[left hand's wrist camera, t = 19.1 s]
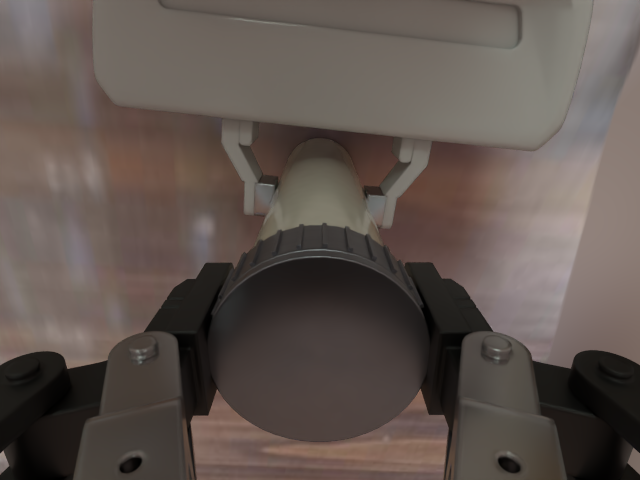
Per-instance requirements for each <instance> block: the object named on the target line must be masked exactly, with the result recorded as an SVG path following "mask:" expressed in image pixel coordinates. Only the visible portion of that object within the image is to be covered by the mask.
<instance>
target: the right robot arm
mask: <svg viewBox="0 0 640 480" xmlns="http://www.w3.org/2000/svg"><path fill="white" fill-rule="evenodd" d="M592 10H593V0H93V17H92V45H93V67H94V74H95V78H96V81H97V82H98V84H99V85H100V87H101V88H102V89H103V91H104V92H105V93H106V95H107V96H108V97H109V98H110V100H111V101H112V102H113V103H114V104H115V105H117V106H120V107H128V108H137V109H146V110H155V111H164V112H173V113H183V114H192V115H201V116H210V117H219V118H222V139H221V144H222V145H223V147H224V149H225V151H226V153H227V155H228V156H229V158H230V160H231V162H232V164H233V166H234V167H235V169H236V171H237V173H238V175H239V177H240V178H241V180H242V181H245V185H244V214H245V215H251V216H254V215H255V216H266V214H267V211H268V208H269V206H270V203H271V201H272V198H273V196H274V193H275V191H276V188H277V185H278V177H277V176H269V175H263V173H262V171H261V169H260V167H259V165H258V163H257V160H256V158H255V156H254V154H253V152H252V150H251V148H250V145H251V144H252V143H253V142H254V141H255V140H256V139H257V138H258V132H259V122H265V123H274V124H283V125H292V126H301V127H311V128H320V129H329V130H338V131H347V132H356V133H366V134H375V135H384V136H393V137H394V139H393V145H392V153H393V154H394V155H395V156H396V158H397V159H398V160H399V161H398V162H397V163H396V165H395V166H394V167H393V169H392V170H391V171H390V173H389V174H388V175H387V176H386V178H385V179H384V180H383V182H382V183H381V184H380V187H375V186H364V188H363V191H364V193H365V196H366V199H367V201H368V204H369V206H370V209H371V212H372V214H373V217H374V220H375V222H376V225H377V228H382V229H390V228H391V226H392V223H393V218H394V212H395V207H396V201H397V197H401V196H402V194H403V193H404V192H405V191H406V190H407V189H408V187H409V186H410V185H411V184H412V183H413V182H414V181H415V179H416V178H417V177H418V176H419V175H420V174H421V172H422V171H423V170H424V169H425V168H426V167H427V165H428V160H429V155H430V151H431V146H432V141H439V142H448V143H457V144H466V145H475V146H485V147H494V148H503V149H512V150H521V151H536V150H538V149H539V148H540V147H542V146H543V145H544V144H545V143H546V142H548V141H549V140H550V139H551V138H552V137H553V136H554V135H555V134H556V133H557V132H558V131H559V130H560V129H561V127H562V125H563V123H564V121H565V118H566V115H567V112H568V109H569V106H570V103H571V100H572V96H573V93H574V90H575V86H576V83H577V79H578V75H579V72H580V68H581V64H582V59H583V55H584V51H585V47H586V42H587V37H588V33H589V28H590V22H591V17H592Z"/></svg>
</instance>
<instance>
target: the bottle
mask: <svg viewBox="0 0 640 480" xmlns="http://www.w3.org/2000/svg"><path fill="white" fill-rule="evenodd" d="M322 223H327V225H329V226H338V227H342V228H345V226H348V227H350V230H353V231H356V232H358V233H361V234H363V235H366V234H369V235H370V236H371V239H373V240H375V241H376V242H377V243H379V244H380V245H382V246H383V247H384V243H383V241H382V238H381V235H380V233H379V230H378V228H377V225H376V222H375V220H374V217H373V214H372V212H371V209H370V206H369V204H368V201H367V199H366V196H365V193H364V191H363V188H362V185H361V183H360V180H359V177H358V175H357V172H356V170H355V167H354V164H353V162H352V159H351V157H350V155H349V153H348V152H347V151H346V150H345V149H344V148H343V147H342V146H341V145H340V144H338V143H336V142H335V141H332V140H329V139H325V138H315V139H310V140H307V141H305V142H303V143H301V144H300V145H298V146H297V147H296V148H295V149H294V150H293V151H292V153H291V154H290V156H289V158H288V160H287V162H286V165H285V168H284V170H283V173H282V175H281V178H280V180H279V183H278V185H277V188H276V191H275V193H274V196H273V198H272V201H271V203H270V206H269V208H268V211H267V214H266V216H265V219H264V221H263V224H262V226H261V229H260V231H259V234H258V237H257V239H256V242H255V244H254V247H255V246H256V245H257V242H258V240H260V239H262V240H265V239H267V238H269V237H270V236H272V235H274V234H277V231H278V230H280V229H281V230H282V231H284V230H288V229H292V228H295V227H299V224H304V226H308V225H322ZM254 247H253V248H254Z"/></svg>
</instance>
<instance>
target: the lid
mask: <svg viewBox="0 0 640 480" xmlns="http://www.w3.org/2000/svg"><path fill="white" fill-rule="evenodd" d="M421 308H424V305H423V303H422V301H421V299H420V296H419V294H418V292H417V290H416V287H415V285H414V283H413V281H412V279H411V277H409V276H408V274H407V272H406V270H405V267H404V265H403V263H402V261H401V260H399V261H397V260H396V259H395V257H394V256H393V255H392V254H391V253H390V250H389V248H388V247H387V246H386V245H385V246H384V247H383V246H382V245H380V244H379V243H377V242H376V241H375V240H373V239H371V236H370V235H369V234H366V235H363V234H361V233H358V232H356V231H353V230H350V227H348V226H345V228H342V227H338V226H329V225H327V223H322V225H308V226H304V224H299V227H295V228H292V229H288V230H284V231H282V230H281V229H280V230H278V231H277V234H274V235H272V236H270V237H269V238H267V239H265V240H262V239H260V240H258V242H257V245H256V246H255V247H254V248H252V249H251V250H250V251H249V252H248V253H247V254H246V253H245V252H244V253H243V254H242V256H241V258H240V260H239V262H238V265H237V266H236V268H235V269H233V268H231V270H230V272H229V274H228V276H227V279H226V281H225V283H224V285H223V287H222V289H221V291H220V294H219V296H218V299H217V302H216V304H215V306H214V308H213V310H212V312H211V318H212V320H211V323H210V326H209V329H208V335H207V346H208V354H209V363H210V370H211V377H212V379H213V381H214V383H215V385H216V387H217V389H218V391H219V392H220V394H221V395H222V397H223V398H224V399H225V401H226V402H227V403H228V404H229V405H230V406H231V407H232V408H233V409H234V410H235V411H236V412H237V413H238V414H239V415H240V416H242V417H243V418H245V419H246V420H247V421H249V422H250V423H252V424H254V425H255V426H257V427H259V428H261V429H263V430H265V431H268V432H270V433H273V434H275V435H278V436H282V437H285V438H289V439H294V440H300V441H310V442H328V441H338V440H344V439H348V438H353V437H356V436H359V435H363V434H366V433H368V432H370V431H372V430H375V429H377V428H379V427H381V426H382V425H384V424H386V423H388V422H389V421H390V420H392V419H393V418H395V417H396V416H397V415H399V414H400V413H401V412H402V411H403V410H404V409H405V408H406V407H407V406H408V405H409V404H410V403H411V401H412V400H413V399H414V398H415V396H416V395H417V393H418V392H419V390H420V388H421V387H422V385H423V382H424V380H425V378H426V375H427V368H428V359H429V351H430V341H431V338H430V333H429V328H428V325H427V322H426V320H425V317H424V315H423V312H422V310H421Z"/></svg>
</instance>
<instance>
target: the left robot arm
mask: <svg viewBox="0 0 640 480" xmlns="http://www.w3.org/2000/svg"><path fill="white" fill-rule="evenodd" d="M404 267H405V270H406V272H407V274H408V276H409V277H411V279H412V281H413V283H414V285H415V287H416V290H417V292H418V294H419V296H420V299H421V301H422V303H423V305H424V308H421V310H422V312H423V315H424V317H425V320H426V322H427V325H428V328H429V333H430V338H431V341H430V351H429V359H428V368H427V375H426V378H425V380H424V382H423V385H422V387H421V391H422V394H423V397H424V401H425V404H426V407H427V410H428V413H429V415H444V416H445V418H446V421H447V424H448V427H449V430H448V436H447V446H446V456H445V465H444V475H443V480H640V475H639V474H638V473H637V472H636V471H635V470H634V469H633V468H632V467H631V466H630V465H629V464H628V463H627V462H628V460H629V457H630V454H631V452H632V449H633V447H634V448H635V449H636V450H637V451H638V452H639V453H640V365H638V364H637V363H635V362H633V361H631V360H629V359H627V358H624V357H622V356H619V355H616V354H613V353H609V352H604V351H597V350H589V351H583V352H580V353H578V354H577V355H576V356H575V357H574V360H573V364H572V367H571V369H569V368H564V367H559V366H554V365H549V364H544V363H540V362H536V361H532V356H531V353H530V352H529V350H528V349H527V348H526V347H525V346H524V345H523V344H522V343H521V342H519V341H518V340H516V339H514V338H512V337H510V336H507V335H504V334H501V333H497V332H493V330H492V329H491V327H490V326H489V324H488V323H487V321H486V320H485V318H484V317H483V315H482V314H481V313H480V311H479V310H478V308H476V305H475V304H474V302H473V301H472V300H470V296H469V295H468V293H467V292H466V290H465V289H464V287H462V286H461V285H459V284H458V283H456V282H455V281H453V280H452V279H442V278H441V277H440V275H439V273H438V272H437V270H436V268H435V267H434V265H433V263H431V262H406V263H405V266H404ZM231 268H233V269H234V267H233V264H232V263H206V264H205V265H204V267H203V268H202V270H201V272H200V273H199V275H198V276H197V278H196V279H187V280H185V281H184V282H182V283H181V284H179V285H178V286H176V287H175V288H174V289H173V290H172V292H171V293H170V295H169V296H168V297H167V300H165V302H164V303H163V305H162V306H161V309H159V311H158V312H157V313H156V315H155V316H154V318H153V319H152V321H151V322H150V324H149V325H148V327H147V328H146V329H145V331H144V332H143V333H139V334H136V335H133V336H130V337H128V338H126V339H124V340H122V341H121V342H119V343H118V344H117V345H116V346H115V347H114V348H113V349H112V350H111V352H110V353H109V356H108V360H107V361H103V362H100V363H96V364H91V365H86V366H81V367H76V368H71V369H67V366H66V363H65V360H64V357H63V356H62V355H60V354H58V353H55V352H49V351H43V352H35V353H30V354H26V355H22V356H20V357H17V358H14V359H12V360H10V361H7V362H6V363H4V364H2V365H0V453H1V452H2V451H4V453H5V456H6V458H7V461H8V463H9V467H8V468H7V469H6V470H5V471H4V472H3V473H2V474H1V475H0V480H197V475H196V465H195V455H194V446H193V436H192V430H191V423H190V422H191V419H192V417H193V415H209V412H210V408H211V405H212V402H213V399H214V396H215V393H216V390H217V387H216V385H215V383H214V381H213V379H212V377H211V370H210V363H209V354H208V346H207V335H208V329H209V326H210V323H211V320H212V318H211V312H212V310H213V308H214V306H215V304H216V302H217V299H218V296H219V294H220V291H221V289H222V287H223V285H224V283H225V281H226V279H227V276H228V274H229V272H230V270H231Z"/></svg>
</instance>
